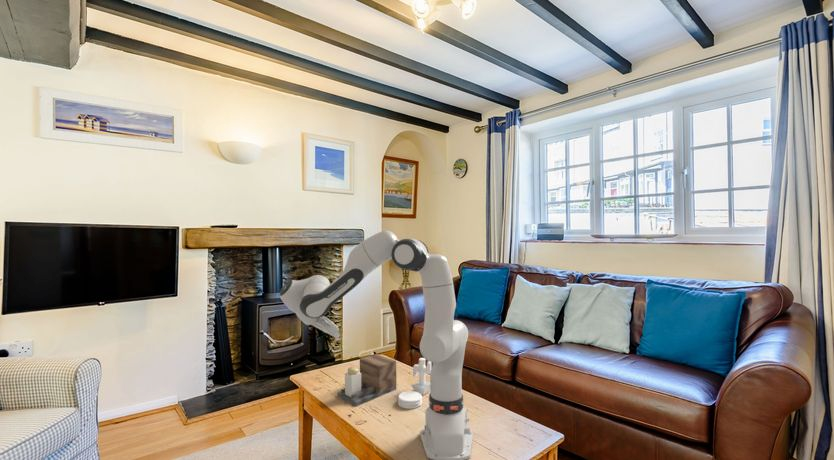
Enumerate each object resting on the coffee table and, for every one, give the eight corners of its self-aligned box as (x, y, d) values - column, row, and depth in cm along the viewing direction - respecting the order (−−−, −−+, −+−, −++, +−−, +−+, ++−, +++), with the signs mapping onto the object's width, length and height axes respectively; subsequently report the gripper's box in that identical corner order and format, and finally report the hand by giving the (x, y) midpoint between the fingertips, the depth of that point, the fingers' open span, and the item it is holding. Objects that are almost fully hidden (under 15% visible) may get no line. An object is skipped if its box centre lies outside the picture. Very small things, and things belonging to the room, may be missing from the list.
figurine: (418, 386, 173) (418, 354, 173) (435, 391, 168) (435, 358, 168) (409, 392, 168) (408, 358, 168) (426, 397, 162) (425, 363, 162)
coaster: (423, 398, 161) (422, 390, 161) (420, 410, 151) (420, 401, 151) (400, 398, 162) (399, 390, 162) (396, 409, 152) (396, 400, 152)
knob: (351, 397, 159) (351, 371, 159) (345, 394, 162) (344, 368, 162) (361, 393, 162) (361, 368, 162) (354, 390, 166) (354, 365, 166)
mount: (356, 406, 155) (356, 374, 155) (337, 396, 165) (336, 366, 165) (396, 389, 171) (396, 360, 171) (376, 380, 181) (376, 353, 181)
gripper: (329, 312, 142) (350, 334, 149) (305, 302, 157) (325, 322, 164) (318, 326, 139) (339, 347, 146) (294, 314, 154) (315, 334, 161)
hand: (332, 334), depth 155 cm, fingers open, 8 cm apart
